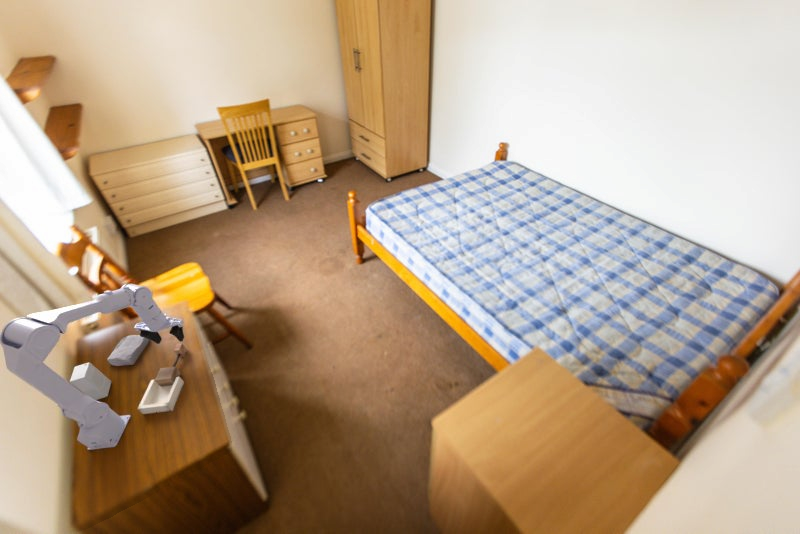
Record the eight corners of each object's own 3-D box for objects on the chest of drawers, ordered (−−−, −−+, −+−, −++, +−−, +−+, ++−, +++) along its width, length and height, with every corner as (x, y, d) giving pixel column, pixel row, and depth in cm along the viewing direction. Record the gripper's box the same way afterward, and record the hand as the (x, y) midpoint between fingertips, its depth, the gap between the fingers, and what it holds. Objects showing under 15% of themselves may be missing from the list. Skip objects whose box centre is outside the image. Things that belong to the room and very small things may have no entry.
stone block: (111, 369, 124) (135, 365, 123) (101, 361, 121) (125, 357, 120) (131, 343, 133) (153, 339, 132) (122, 335, 130) (145, 331, 129)
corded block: (176, 385, 116) (170, 378, 113) (161, 387, 116) (154, 380, 113) (191, 349, 127) (186, 342, 124) (177, 350, 127) (172, 343, 124)
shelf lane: (172, 410, 110) (167, 405, 107) (143, 414, 109) (137, 408, 107) (184, 382, 117) (179, 376, 115) (156, 385, 117) (151, 379, 114)
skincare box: (97, 386, 117) (74, 366, 109) (112, 381, 118) (90, 361, 110) (93, 401, 113) (68, 382, 105) (108, 396, 114) (84, 377, 106)
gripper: (179, 303, 115) (196, 329, 123) (133, 307, 114) (154, 333, 123) (170, 319, 109) (189, 345, 118) (123, 324, 108) (145, 349, 117)
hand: (171, 340), depth 120 cm, fingers open, 7 cm apart
